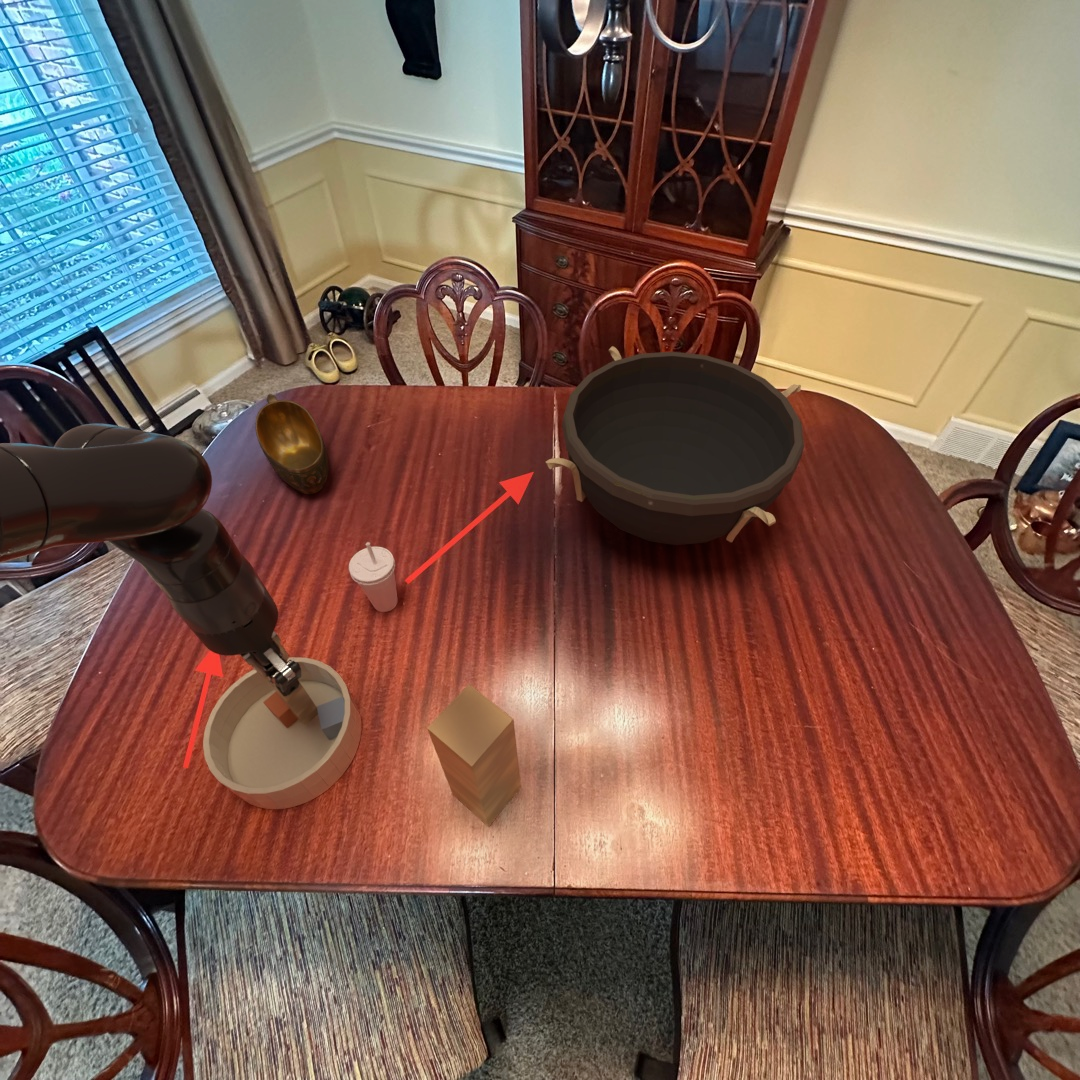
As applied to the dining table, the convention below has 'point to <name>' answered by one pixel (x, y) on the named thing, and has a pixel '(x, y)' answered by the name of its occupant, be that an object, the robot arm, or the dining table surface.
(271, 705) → the terracotta block
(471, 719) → the oak stand
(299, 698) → the wooden square bar
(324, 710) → the bluegrey block
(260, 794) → the round beige tray
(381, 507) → the dining table surface
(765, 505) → the bowl
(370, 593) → the smoothie
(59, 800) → the dining table surface
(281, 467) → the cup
